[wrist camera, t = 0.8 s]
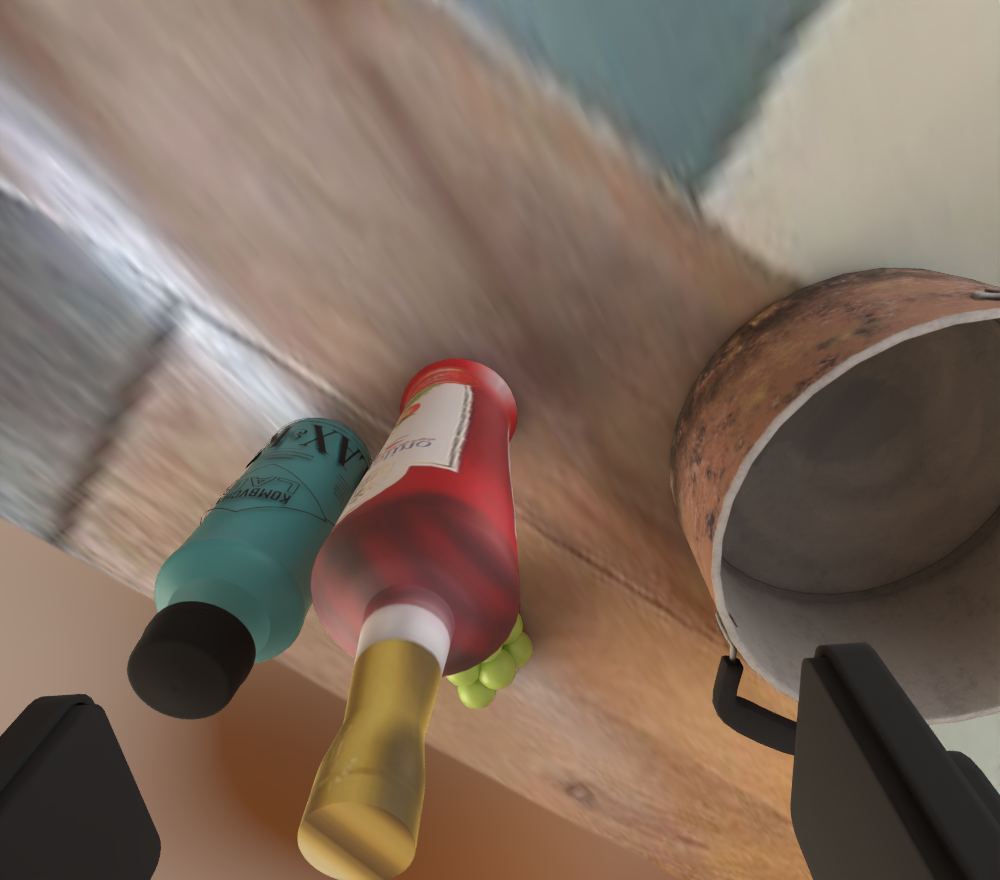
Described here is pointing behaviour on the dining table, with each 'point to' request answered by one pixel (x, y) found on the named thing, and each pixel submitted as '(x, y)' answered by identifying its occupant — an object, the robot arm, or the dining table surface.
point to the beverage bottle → (246, 571)
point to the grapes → (494, 670)
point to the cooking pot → (852, 490)
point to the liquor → (412, 607)
